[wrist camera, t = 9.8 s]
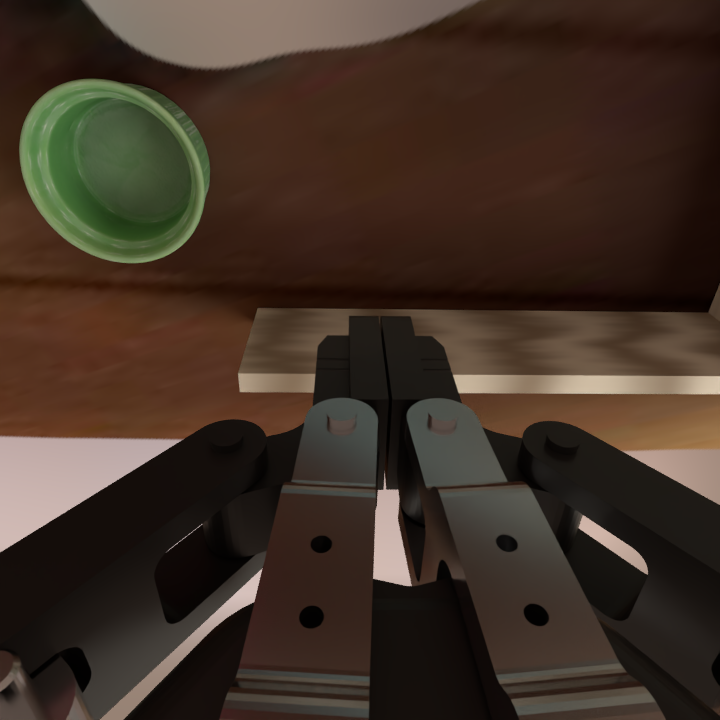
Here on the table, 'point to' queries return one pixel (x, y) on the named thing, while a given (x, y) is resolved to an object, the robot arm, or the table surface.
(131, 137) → the ramekin
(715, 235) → the table surface
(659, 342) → the wooden c-shaped frame
